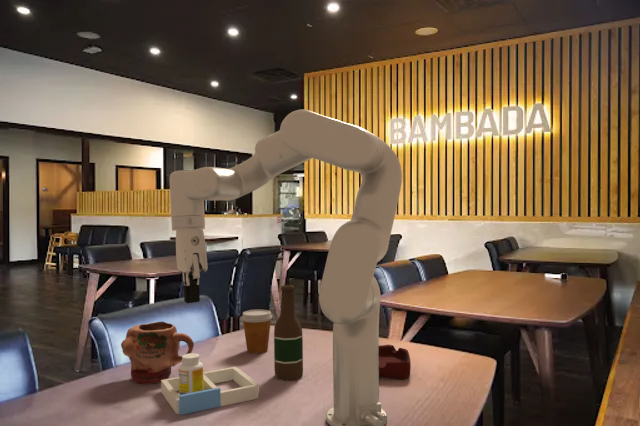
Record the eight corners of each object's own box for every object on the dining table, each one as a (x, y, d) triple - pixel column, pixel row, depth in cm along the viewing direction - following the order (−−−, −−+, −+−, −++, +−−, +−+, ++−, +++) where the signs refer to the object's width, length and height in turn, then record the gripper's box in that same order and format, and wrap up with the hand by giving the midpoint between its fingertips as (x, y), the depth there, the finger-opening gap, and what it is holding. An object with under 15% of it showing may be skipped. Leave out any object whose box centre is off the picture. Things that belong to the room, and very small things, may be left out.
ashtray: (384, 389, 123) (384, 369, 123) (340, 373, 136) (340, 354, 136) (431, 373, 135) (430, 354, 135) (386, 359, 147) (385, 342, 147)
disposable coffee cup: (238, 349, 159) (237, 311, 159) (267, 345, 163) (266, 308, 163) (247, 357, 151) (246, 317, 150) (277, 352, 155) (276, 313, 154)
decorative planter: (202, 370, 139) (201, 320, 138) (187, 386, 127) (186, 331, 126) (131, 370, 140) (130, 320, 140) (110, 386, 128) (109, 331, 128)
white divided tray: (260, 397, 119) (259, 380, 118) (177, 415, 109) (177, 397, 109) (236, 378, 132) (235, 362, 132) (161, 392, 123) (160, 375, 123)
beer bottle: (299, 382, 129) (298, 288, 128) (270, 380, 130) (268, 287, 130) (306, 372, 136) (305, 283, 136) (278, 370, 138) (277, 282, 138)
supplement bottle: (205, 393, 121) (204, 351, 121) (202, 402, 116) (201, 358, 116) (181, 395, 121) (180, 352, 121) (177, 404, 115) (176, 359, 115)
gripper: (214, 222, 113) (217, 304, 113) (195, 222, 126) (198, 296, 126) (180, 224, 109) (184, 309, 110) (164, 224, 122) (168, 300, 122)
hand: (192, 301), depth 118 cm, fingers closed
